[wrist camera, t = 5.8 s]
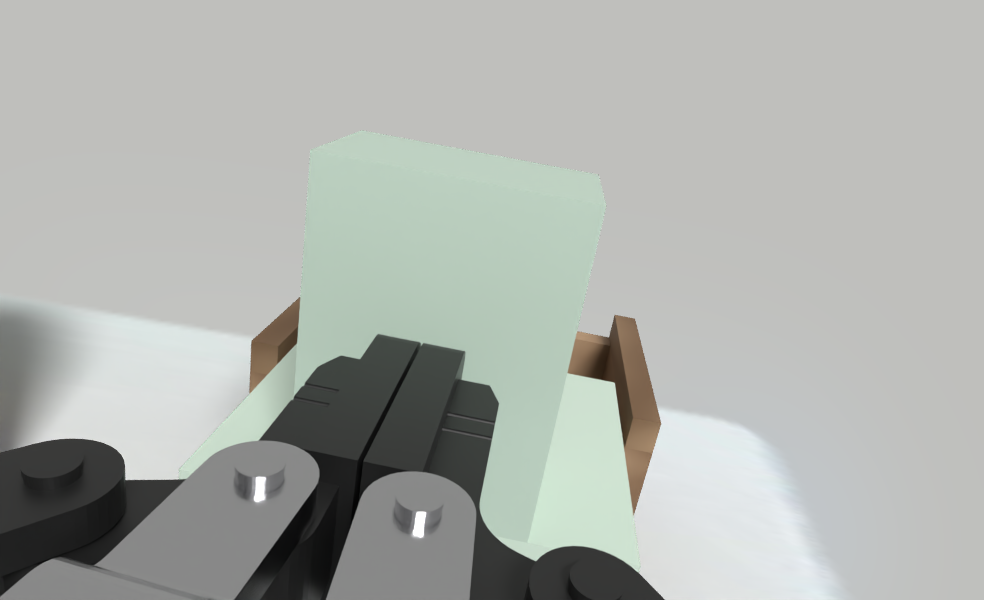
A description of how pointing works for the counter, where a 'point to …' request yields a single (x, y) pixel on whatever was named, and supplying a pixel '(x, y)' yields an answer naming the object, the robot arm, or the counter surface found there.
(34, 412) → the counter surface
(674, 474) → the counter surface
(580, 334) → the walnut box
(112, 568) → the robot arm
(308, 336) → the sage lid
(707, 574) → the counter surface
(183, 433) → the counter surface
